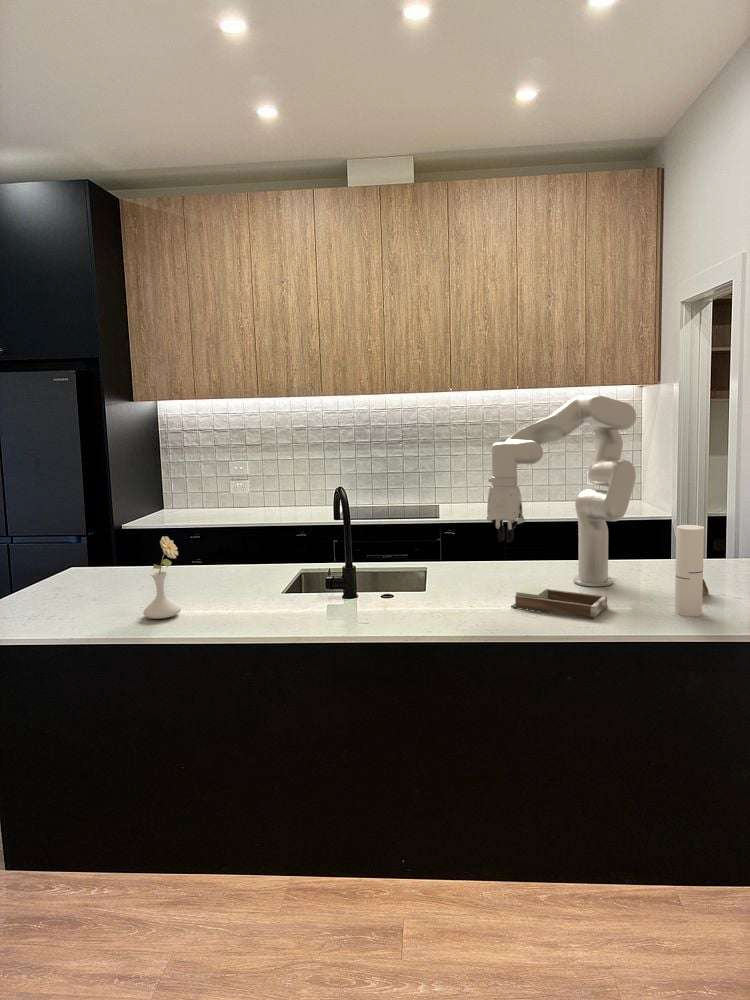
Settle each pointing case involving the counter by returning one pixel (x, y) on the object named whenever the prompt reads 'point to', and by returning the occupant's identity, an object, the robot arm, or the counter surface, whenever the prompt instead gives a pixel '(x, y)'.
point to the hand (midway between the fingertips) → (505, 540)
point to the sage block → (533, 592)
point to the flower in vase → (161, 603)
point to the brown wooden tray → (565, 604)
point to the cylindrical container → (689, 570)
